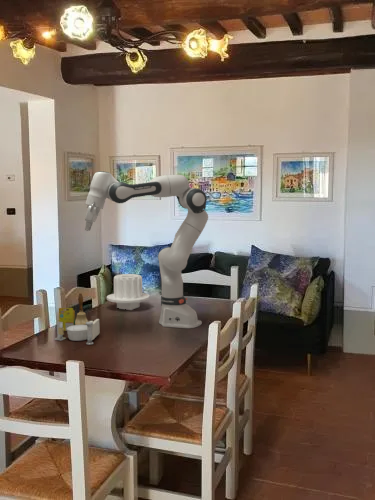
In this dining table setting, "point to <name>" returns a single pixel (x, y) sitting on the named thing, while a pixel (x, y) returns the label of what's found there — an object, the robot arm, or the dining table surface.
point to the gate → (94, 327)
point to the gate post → (89, 335)
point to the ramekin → (77, 332)
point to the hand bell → (81, 313)
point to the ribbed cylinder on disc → (128, 291)
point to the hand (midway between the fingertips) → (87, 230)
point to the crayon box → (67, 317)
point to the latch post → (60, 331)
